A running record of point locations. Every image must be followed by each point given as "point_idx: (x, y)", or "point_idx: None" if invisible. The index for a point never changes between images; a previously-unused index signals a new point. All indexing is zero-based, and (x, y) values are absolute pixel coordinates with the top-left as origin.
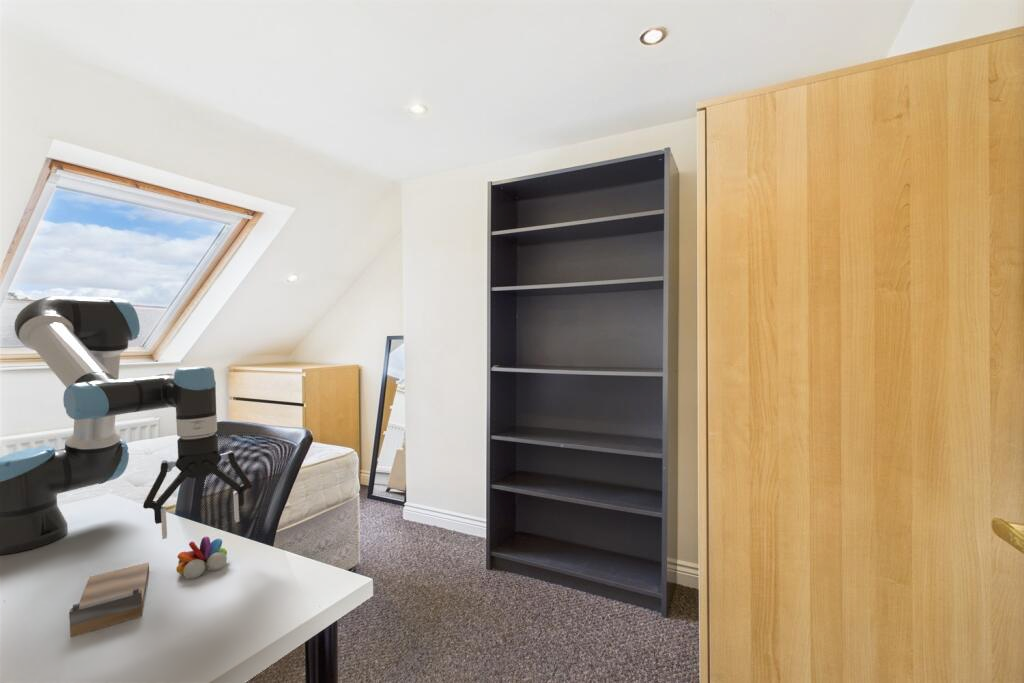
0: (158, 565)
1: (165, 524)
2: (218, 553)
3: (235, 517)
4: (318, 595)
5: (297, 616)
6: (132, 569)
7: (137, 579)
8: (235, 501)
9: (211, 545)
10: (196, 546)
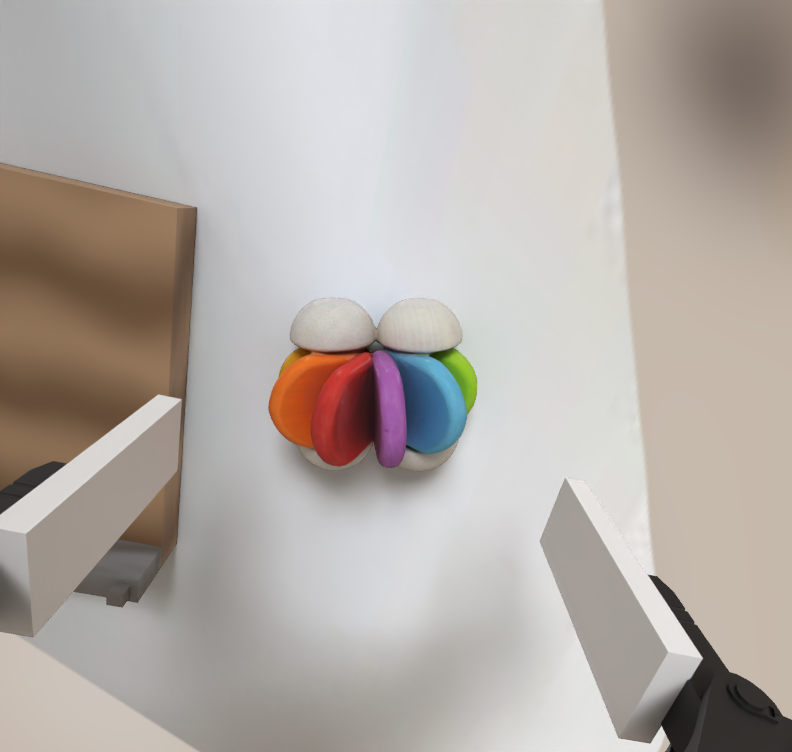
0: (234, 172)
1: (124, 527)
2: (426, 463)
3: (550, 564)
4: (554, 747)
5: None
6: (112, 236)
7: (139, 367)
8: (598, 669)
9: (419, 398)
10: (338, 461)
